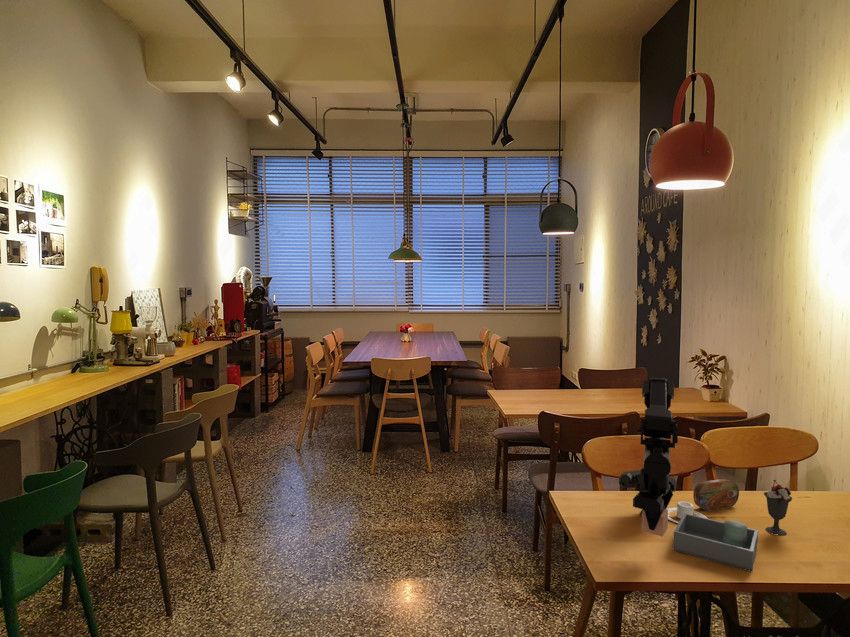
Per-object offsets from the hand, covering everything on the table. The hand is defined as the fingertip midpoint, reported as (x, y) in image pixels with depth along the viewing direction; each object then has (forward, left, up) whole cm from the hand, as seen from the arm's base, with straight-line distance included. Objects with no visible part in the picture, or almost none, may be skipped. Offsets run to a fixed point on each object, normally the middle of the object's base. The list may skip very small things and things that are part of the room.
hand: (654, 525), depth 135 cm
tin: (-42, +8, -8) cm, 44 cm away
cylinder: (-13, +16, -7) cm, 22 cm away
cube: (0, 0, -1) cm, 1 cm away
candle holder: (-29, +2, -9) cm, 30 cm away
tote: (-13, +12, -8) cm, 19 cm away
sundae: (-34, +24, -8) cm, 43 cm away
